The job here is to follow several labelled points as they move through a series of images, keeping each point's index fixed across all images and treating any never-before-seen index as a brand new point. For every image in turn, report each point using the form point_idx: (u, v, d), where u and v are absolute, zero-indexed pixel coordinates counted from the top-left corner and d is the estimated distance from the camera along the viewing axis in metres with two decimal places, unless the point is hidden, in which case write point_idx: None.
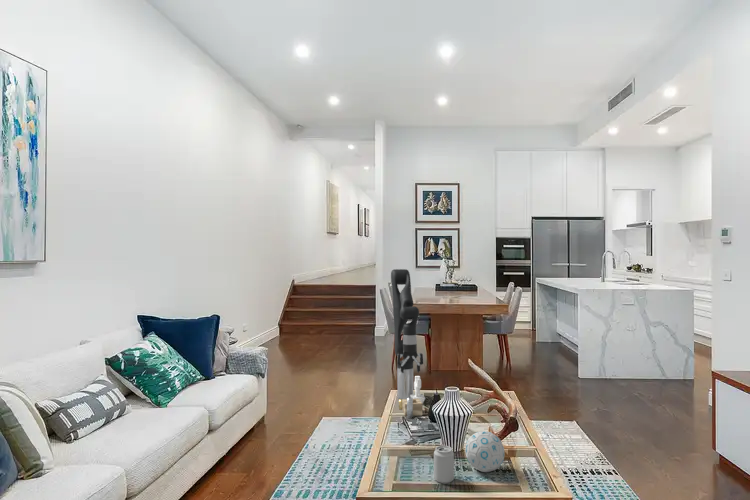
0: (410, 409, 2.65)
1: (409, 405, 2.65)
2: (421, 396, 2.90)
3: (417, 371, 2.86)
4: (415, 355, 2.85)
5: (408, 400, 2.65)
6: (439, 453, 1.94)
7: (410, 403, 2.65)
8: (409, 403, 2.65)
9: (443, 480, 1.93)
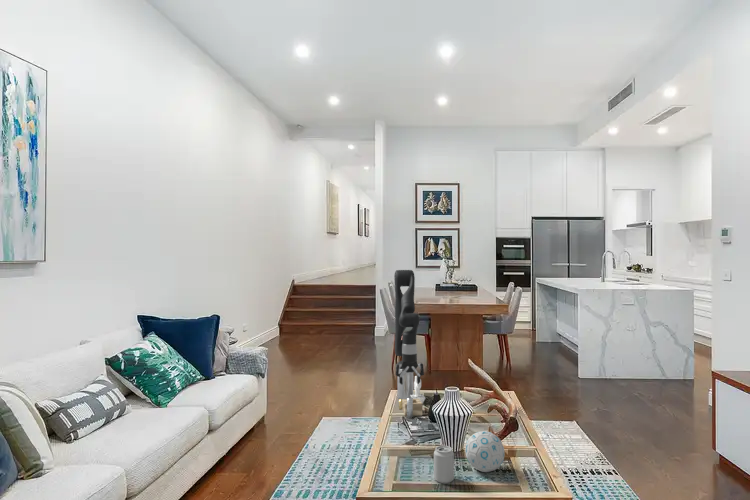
0: (410, 409, 2.65)
1: (409, 405, 2.65)
2: (421, 396, 2.90)
3: (417, 382, 2.66)
4: (415, 365, 2.65)
5: (408, 400, 2.65)
6: (439, 453, 1.94)
7: (410, 403, 2.65)
8: (409, 403, 2.65)
9: (443, 480, 1.93)
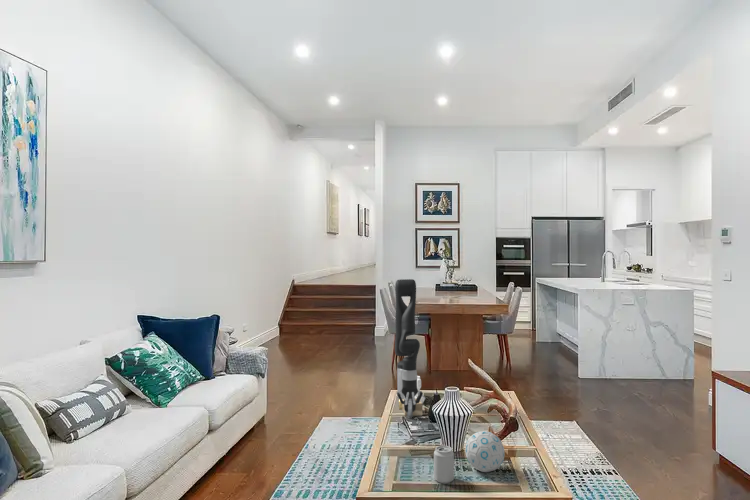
0: (410, 409, 2.65)
1: (409, 405, 2.65)
2: None
3: None
4: (415, 391, 2.65)
5: (408, 400, 2.65)
6: (439, 453, 1.94)
7: (410, 403, 2.65)
8: (409, 403, 2.65)
9: (443, 480, 1.93)
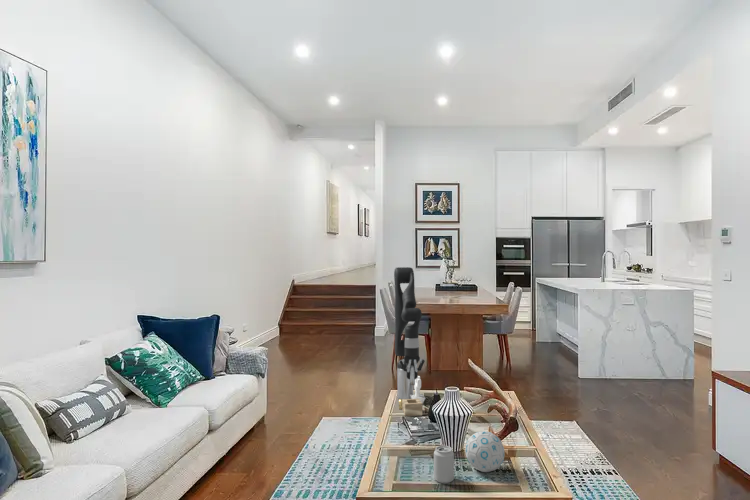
0: (412, 376, 2.72)
1: (411, 372, 2.72)
2: (421, 396, 2.90)
3: None
4: (417, 358, 2.72)
5: (410, 367, 2.72)
6: (439, 453, 1.94)
7: (412, 370, 2.72)
8: (411, 370, 2.72)
9: (443, 480, 1.93)
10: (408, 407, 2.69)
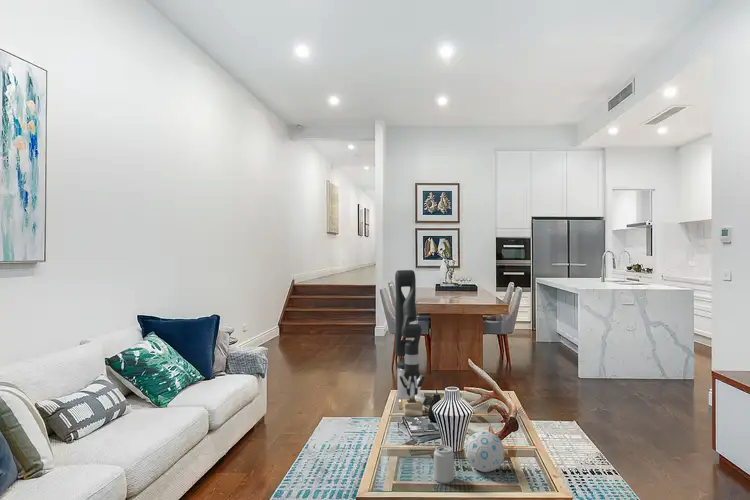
0: (412, 393, 2.72)
1: (411, 389, 2.72)
2: (421, 396, 2.90)
3: (415, 394, 2.73)
4: (417, 375, 2.72)
5: (410, 384, 2.72)
6: (439, 453, 1.94)
7: (412, 387, 2.72)
8: (411, 387, 2.72)
9: (443, 480, 1.93)
10: (408, 407, 2.69)
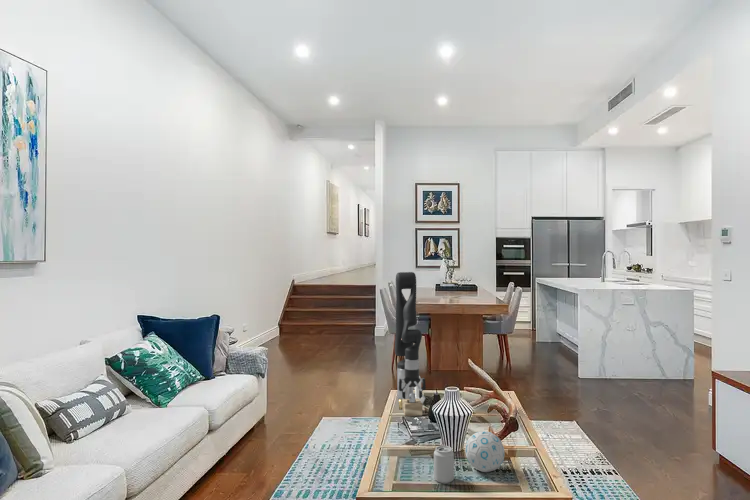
0: None
1: (411, 401, 2.72)
2: None
3: (419, 397, 2.73)
4: (417, 380, 2.72)
5: (410, 396, 2.72)
6: (439, 453, 1.94)
7: (412, 399, 2.72)
8: (411, 399, 2.72)
9: (443, 480, 1.93)
10: (408, 407, 2.69)
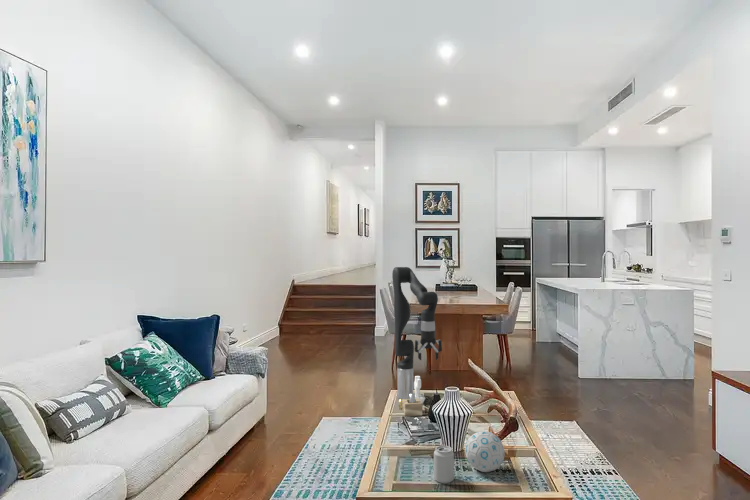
0: None
1: (412, 401, 2.72)
2: (421, 396, 2.90)
3: (435, 358, 2.77)
4: (433, 342, 2.76)
5: (411, 396, 2.72)
6: (439, 453, 1.94)
7: (412, 399, 2.72)
8: (412, 399, 2.72)
9: (443, 480, 1.93)
10: (408, 407, 2.69)
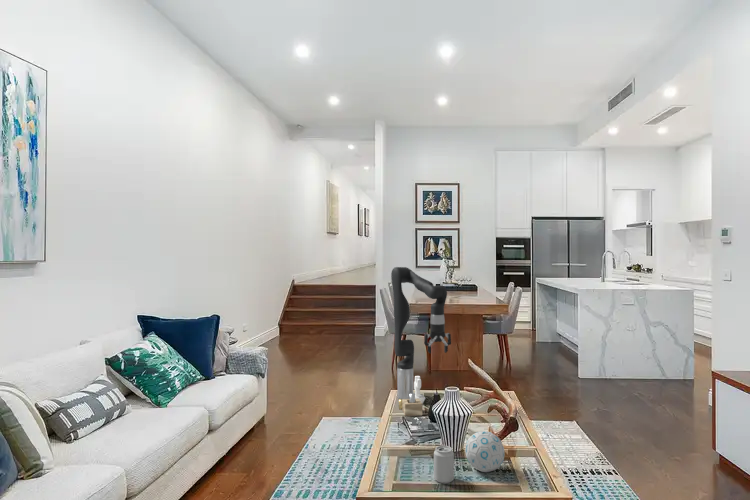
0: None
1: (412, 401, 2.72)
2: (421, 396, 2.90)
3: (445, 351, 2.80)
4: (443, 335, 2.79)
5: (411, 396, 2.72)
6: (439, 453, 1.94)
7: (412, 399, 2.72)
8: (412, 399, 2.72)
9: (443, 480, 1.93)
10: (408, 407, 2.69)
